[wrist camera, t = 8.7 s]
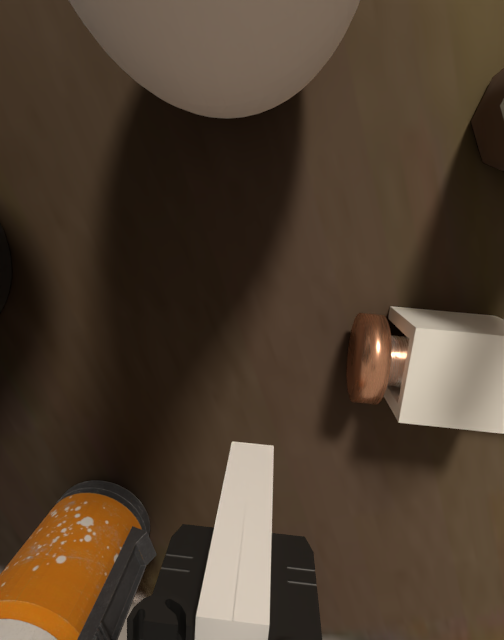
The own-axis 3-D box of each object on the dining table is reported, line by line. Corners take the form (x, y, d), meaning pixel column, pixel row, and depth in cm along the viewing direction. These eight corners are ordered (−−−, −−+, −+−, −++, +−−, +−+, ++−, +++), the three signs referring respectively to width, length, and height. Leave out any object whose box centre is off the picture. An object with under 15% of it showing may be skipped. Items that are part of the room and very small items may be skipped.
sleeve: (377, 384, 33) (398, 422, 27) (390, 306, 32) (416, 327, 26) (476, 394, 33) (521, 435, 27) (495, 315, 31) (547, 340, 25)
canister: (45, 487, 38) (-197, 762, 19) (153, 460, 37) (9, 731, 17) (82, 563, 40) (-104, 884, 21) (186, 541, 39) (89, 866, 19)
